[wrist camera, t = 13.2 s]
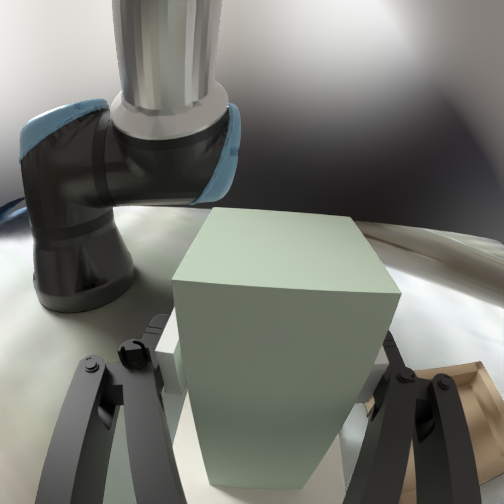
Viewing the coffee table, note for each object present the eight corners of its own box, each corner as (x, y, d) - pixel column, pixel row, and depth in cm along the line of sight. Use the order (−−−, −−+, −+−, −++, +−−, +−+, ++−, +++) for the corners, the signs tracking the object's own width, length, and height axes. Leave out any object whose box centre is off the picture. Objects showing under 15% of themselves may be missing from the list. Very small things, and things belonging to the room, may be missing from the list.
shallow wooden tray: (362, 392, 22) (371, 374, 21) (469, 377, 22) (480, 361, 21) (386, 517, 11) (403, 509, 10) (510, 469, 11) (527, 454, 10)
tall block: (220, 416, 20) (213, 207, 13) (299, 420, 19) (350, 217, 12) (209, 484, 14) (171, 279, 7) (301, 489, 14) (401, 293, 7)
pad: (190, 386, 23) (189, 382, 22) (330, 394, 22) (332, 391, 22) (158, 513, 12) (156, 511, 12) (345, 523, 12) (348, 521, 11)
